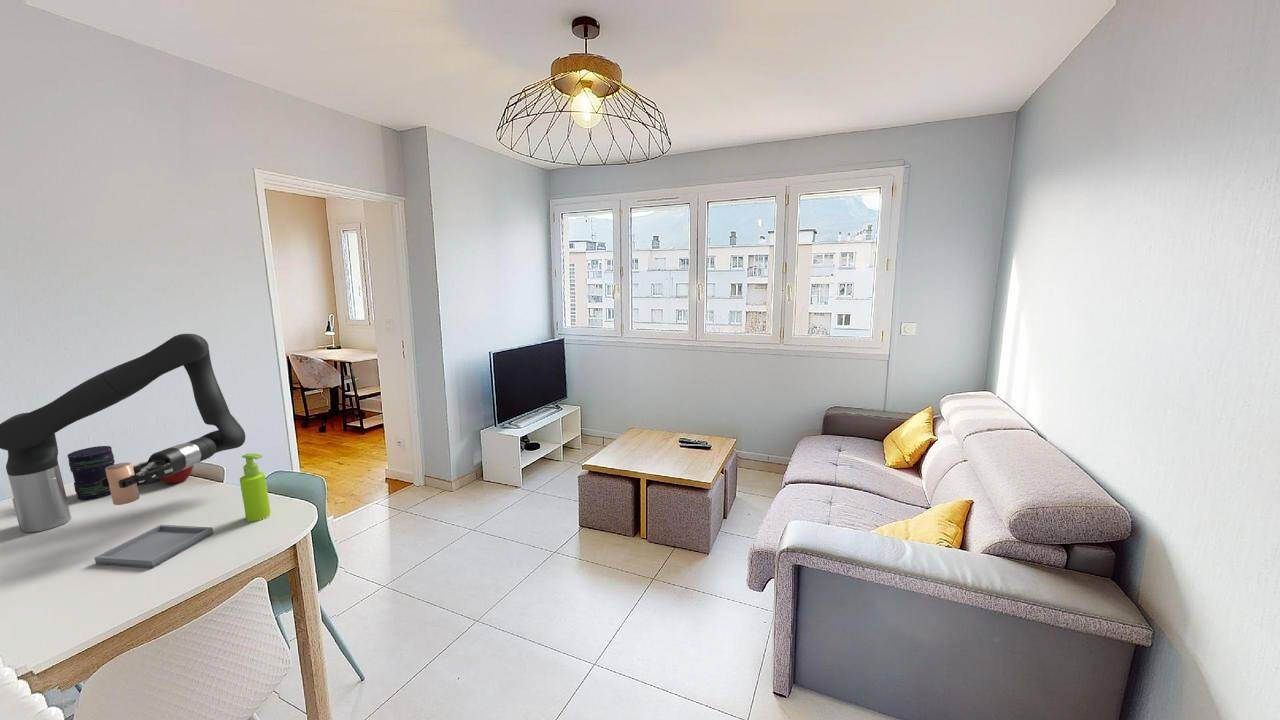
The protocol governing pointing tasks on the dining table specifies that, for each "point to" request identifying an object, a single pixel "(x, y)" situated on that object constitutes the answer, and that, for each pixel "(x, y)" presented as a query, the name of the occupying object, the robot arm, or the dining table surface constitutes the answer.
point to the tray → (154, 546)
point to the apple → (178, 476)
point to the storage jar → (90, 471)
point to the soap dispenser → (254, 490)
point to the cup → (114, 476)
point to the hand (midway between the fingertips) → (111, 484)
